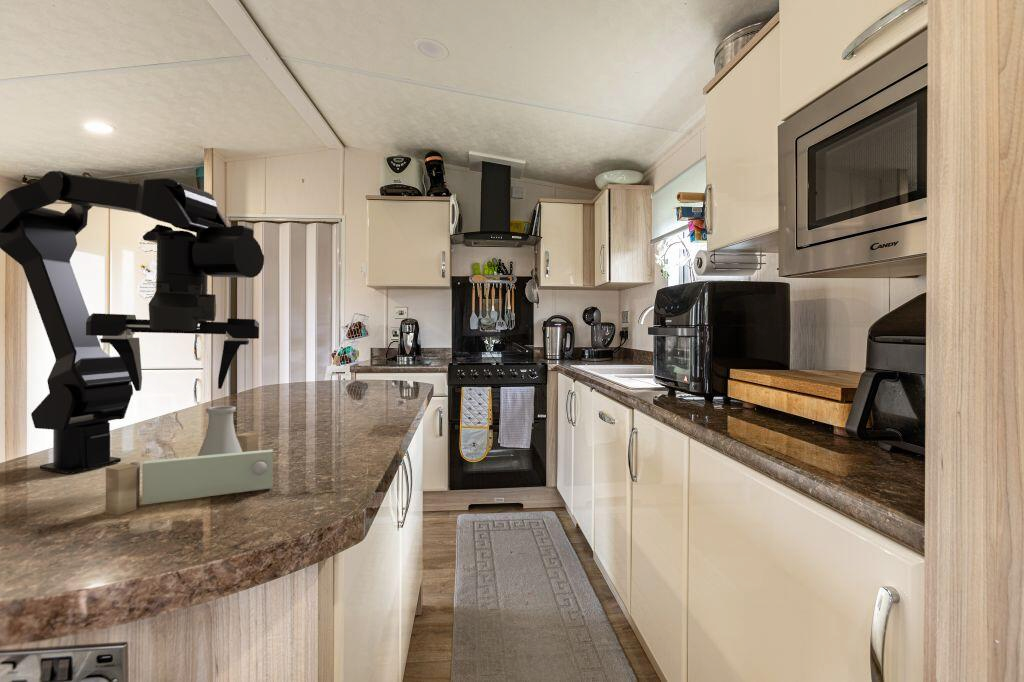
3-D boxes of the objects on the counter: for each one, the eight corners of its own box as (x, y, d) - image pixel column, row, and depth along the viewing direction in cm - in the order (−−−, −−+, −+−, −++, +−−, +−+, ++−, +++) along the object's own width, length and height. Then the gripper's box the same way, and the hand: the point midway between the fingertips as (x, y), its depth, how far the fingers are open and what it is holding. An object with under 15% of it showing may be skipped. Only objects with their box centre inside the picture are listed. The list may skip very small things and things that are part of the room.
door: (144, 500, 53) (144, 460, 53) (272, 485, 60) (272, 449, 60) (140, 507, 51) (140, 466, 51) (272, 490, 58) (273, 453, 58)
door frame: (105, 512, 50) (105, 467, 50) (247, 465, 69) (247, 432, 68) (118, 515, 50) (119, 469, 50) (257, 466, 68) (258, 433, 68)
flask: (222, 493, 57) (223, 413, 57) (172, 488, 59) (173, 410, 58) (263, 475, 64) (264, 404, 64) (218, 471, 66) (219, 402, 65)
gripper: (70, 263, 51) (68, 401, 52) (260, 277, 60) (257, 395, 61) (100, 272, 61) (98, 388, 61) (260, 283, 70) (257, 384, 71)
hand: (180, 389), depth 63 cm, fingers open, 9 cm apart
